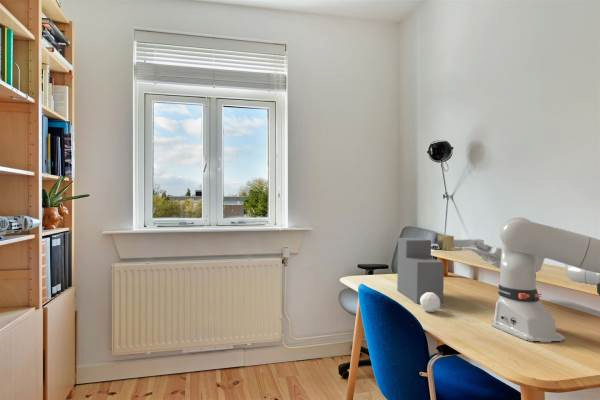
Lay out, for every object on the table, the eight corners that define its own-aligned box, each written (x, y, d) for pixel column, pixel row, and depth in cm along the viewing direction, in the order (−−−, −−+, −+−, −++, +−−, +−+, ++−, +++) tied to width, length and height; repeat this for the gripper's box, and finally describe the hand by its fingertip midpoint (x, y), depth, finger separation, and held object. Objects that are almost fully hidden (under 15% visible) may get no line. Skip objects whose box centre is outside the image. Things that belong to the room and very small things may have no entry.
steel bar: (485, 247, 163) (485, 236, 163) (443, 247, 160) (443, 236, 160) (478, 245, 168) (478, 234, 167) (437, 246, 165) (437, 235, 165)
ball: (425, 316, 147) (423, 297, 152) (445, 313, 143) (441, 293, 148) (417, 310, 143) (415, 291, 148) (437, 306, 139) (434, 287, 143)
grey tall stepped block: (443, 303, 157) (444, 243, 156) (416, 303, 155) (417, 243, 155) (420, 290, 178) (421, 238, 178) (397, 290, 177) (398, 237, 177)
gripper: (510, 267, 156) (484, 251, 154) (481, 259, 176) (458, 245, 174) (517, 255, 156) (492, 238, 154) (488, 248, 176) (465, 233, 175)
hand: (474, 242), depth 165 cm, fingers closed on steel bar, 3 cm apart
